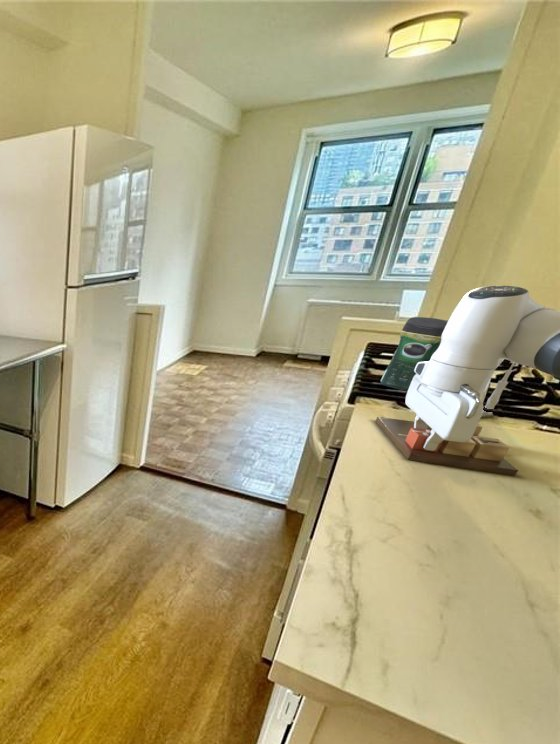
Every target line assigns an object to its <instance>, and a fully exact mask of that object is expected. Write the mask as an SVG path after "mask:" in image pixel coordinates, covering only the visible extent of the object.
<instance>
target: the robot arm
mask: <svg viewBox="0 0 560 744" xmlns="http://www.w3.org/2000/svg"><path fill="white" fill-rule="evenodd" d="M529 296H530V291H529V290H528V289H526V288H523V287H520V286H513V285H487V286H482V287H478V288H475V289H472V290H469V292H467V293H466V294H465V295H464V296H463V297H462V299H461V300H460V301H459V302H458V303H457V305H456V306H455V308H454V309H453V311H452V313H451V315H450V317H449V319H448V320H447V321H448V322H447V324H446V326H445V329H444V331H443V333H442V336H441V343H440V346H439V347H438V349H437V350H436V351H435V352H434V354H433V355H432V357H431V359H430V361H427V362H418V363H417V365H416V367H415V369H414V372H415V373H416V375H415V376H414V377H413V379H412V382H411V384H410V386H409V389H408V391H406V394H405V406H407V407H408V408H409V409H410V410H411V411H412V412H413V413H414V414H415V417H414V422H415V423H414V428H417V429H425V430H427V427H428V426H429V427H431V428H432V430H431V432H430V433H431V435H430V436H429V437H428V439H424V441H423V443H422V447H423V448H424V449H425V450H430V451H434V450H436V448H437V447H438V445H439V443H441V442H442V441H443V440H448V441H455V442H467V441H468V440H470V439H471V438H472V436H473V434H474V432H475V430H476V427H477V425H478V424H479V423H480V420H481V418H482V417H481V415H482V412H483V408H484V402H483V403H482V402H481V401H480V398H479V397H480V393H482V392H483V391H484V389H485V388H486V386H487V384H488V382H489V380H490V378H491V379H492V377H493V374H494V373H495V371H496V369H497V368H498V367H497V364H498V359H500V358H503V359H504V360H505V361H509V362H511V363H515V364H517V365H521V366H525V367H528V368H531V369H535V370H538V371H540V372H541V373H545V374H547V375H549V376H552V377H555V378H557V379H560V310H559V309H558V310H557V309H555V308H550V307H546V306H545V305H542V304H540V303H538V302H536V301H535V300H534V299H533V298H532V297H531V296H530V297H531V298H532V299H533V300H532V299H531V298H530V297H529ZM496 367H497V368H496ZM491 376H492V377H491ZM490 381H491V380H490Z"/></svg>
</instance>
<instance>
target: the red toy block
mask: <svg viewBox="0 0 560 744" xmlns="http://www.w3.org/2000/svg"><path fill="white" fill-rule="evenodd" d="M430 432H431V430H425V429H417V428H411V429H410V431H409V433H408V435H407V437H406V440H405V441H406V442H407V443H408V445H409V446H410V447H411V448H412V449H418V450H424V451H430V450H425V449H424V448H423V447H422V443H423V441H424V439H428V437H429V436H430V435H431V433H430ZM442 442H443V441H442ZM442 442H441V443H439V445H438V447H437V448H436V450H434V451H431V452H438V450H439V448H440V446H441V444H442Z"/></svg>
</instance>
